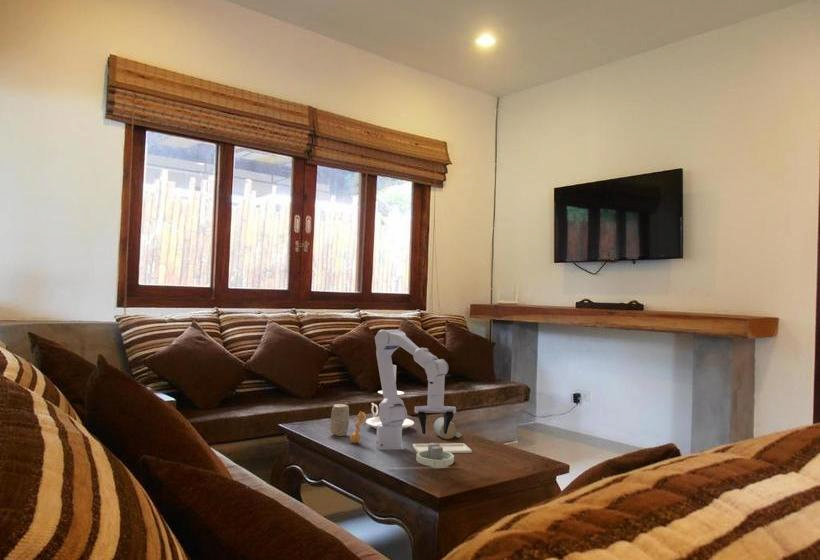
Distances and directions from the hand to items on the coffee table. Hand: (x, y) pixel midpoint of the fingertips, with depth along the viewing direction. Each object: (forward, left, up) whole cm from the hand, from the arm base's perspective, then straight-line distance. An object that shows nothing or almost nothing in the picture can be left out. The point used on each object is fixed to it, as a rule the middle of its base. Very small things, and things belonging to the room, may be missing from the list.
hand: (434, 433), depth 200 cm
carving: (-30, +37, -10) cm, 48 cm away
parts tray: (+6, +12, -9) cm, 16 cm away
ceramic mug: (+14, +31, -10) cm, 35 cm away
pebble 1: (0, 0, -9) cm, 9 cm away
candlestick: (-9, +48, -10) cm, 50 cm away
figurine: (-24, +25, -10) cm, 36 cm away
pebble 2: (0, -5, -9) cm, 10 cm away
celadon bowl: (0, -2, -9) cm, 10 cm away
